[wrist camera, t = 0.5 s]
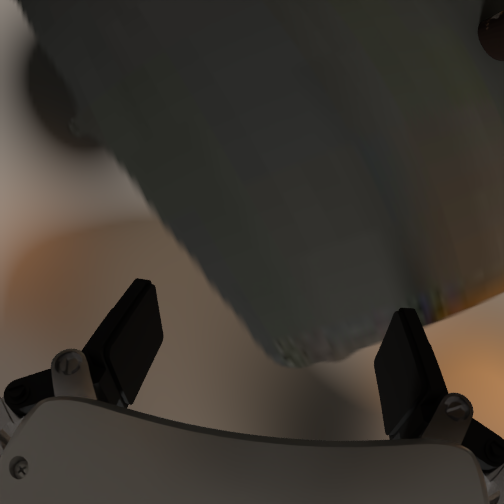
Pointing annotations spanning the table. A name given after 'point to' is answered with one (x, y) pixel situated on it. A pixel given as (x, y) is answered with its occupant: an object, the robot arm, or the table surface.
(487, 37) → the coffee mug
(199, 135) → the table surface
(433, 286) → the table surface
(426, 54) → the table surface
